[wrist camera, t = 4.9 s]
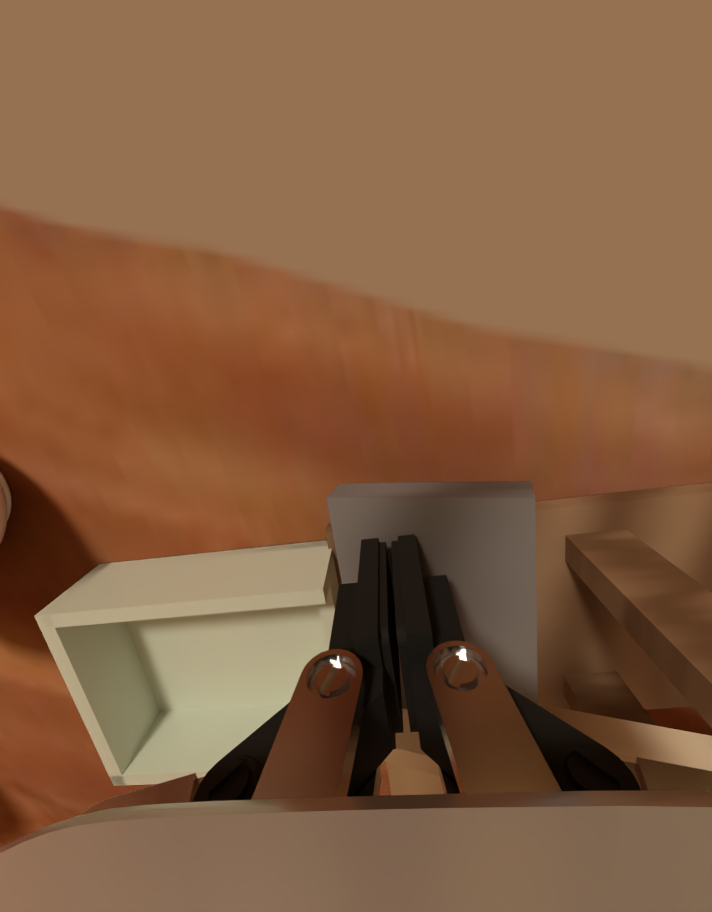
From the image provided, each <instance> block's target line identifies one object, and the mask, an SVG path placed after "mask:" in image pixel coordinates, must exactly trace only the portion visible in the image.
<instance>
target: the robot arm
mask: <svg viewBox="0 0 712 912" xmlns="http://www.w3.org/2000/svg"><path fill="white" fill-rule="evenodd" d="M391 547H392V565H393V583H394V595H393V588H392V581H391V574H390V567H389V560H388V553H387V546H386V542H379V538H372V539H362V540H361V548H360V559H359V570H358V582H357V583H347V584H340V585H339V588H338V594H337V600H336V606H335V613H334V619H333V625H332V631H331V637H330V644H329V650H327V651H324V652H321V653H319V654H318V655H316V656H315V657H313V658H312V659H311V660H310V661H309V662H308V663H307V664H306V665H305V667H304V669H303V671H302V672H301V675H300V677H299V680H298V682H297V685H296V688H295V690H294V693H293V695H292V698H291V700H290V702H289V703H288V704H287V705H285V706H284V707H283V708H282V709H281V710H279V711H278V712H277V713H276V714H275V715H273V716H272V717H271V718H270V719H269V720H267V721H266V722H265V723H264V724H263V725H261V726H260V727H259V728H258V729H257V730H255V731H254V732H253V733H252V734H251V735H249V736H248V737H247V738H246V739H245V740H243V741H242V742H241V743H240V744H239V745H237V746H236V747H235V748H234V749H233V750H231V751H230V752H229V753H228V754H227V755H225V756H224V757H223V758H222V759H221V760H219V761H218V762H217V763H216V764H215V765H214V766H213V767H212V768H211V769H210V770H209V771H208V772H207V774H206V775H205V776H204V777H201V778H197V775H196V773H193V774H190V775H187V776H183V777H180V778H177V779H173V780H170V781H166V782H163V783H160V784H156V785H153V786H150V787H146V788H143V789H139V790H136V791H133V792H129V793H126V794H123V795H119V796H116V797H112V798H109V799H106V800H104V801H101V802H99V803H97V804H95V805H93V806H91V807H90V808H89V809H88V810H86V811H85V812H84V813H83V814H81V815H79V816H75V817H72V818H69V819H66V820H63V821H60V822H57V823H54V824H51V825H47V826H45V827H43V828H40V829H38V830H36V831H34V832H32V833H29V834H27V835H25V836H23V837H21V838H18V839H16V840H14V841H12V842H10V843H8V844H6V845H4V846H3V847H1V848H0V912H712V771H708V770H703V769H698V768H692V767H687V766H682V765H676V764H671V763H666V762H661V761H655V760H650V759H645V758H639V757H636V763H631V762H626V761H622V760H621V759H620V758H619V757H618V756H617V755H615V754H614V753H613V752H611V751H610V750H609V749H607V748H606V747H605V746H603V745H601V744H600V743H598V742H597V741H595V740H593V739H592V738H590V737H589V736H587V735H585V734H584V733H582V732H581V731H579V730H577V729H576V728H574V727H572V726H571V725H569V724H568V723H566V722H564V721H563V720H561V719H560V718H558V717H556V716H555V715H553V714H552V713H550V712H548V711H547V710H545V709H544V708H542V707H540V706H539V705H537V704H536V703H534V702H532V701H531V700H529V699H528V698H526V697H524V696H523V695H521V694H519V693H518V692H516V691H515V690H513V689H511V688H510V687H508V686H507V685H505V684H504V682H503V680H502V678H501V676H500V674H499V672H498V671H497V669H496V667H495V665H494V663H493V661H492V660H491V658H490V657H489V656H488V654H487V653H486V652H485V651H483V650H482V649H481V648H480V647H478V646H476V645H474V644H471V643H469V642H465V639H464V636H463V632H462V628H461V625H460V621H459V618H458V614H457V610H456V607H455V603H454V600H453V596H452V592H451V589H450V585H449V582H448V578H447V576H446V575H437V576H426V577H422V573H421V567H420V562H419V556H418V550H417V545H416V539H415V534H412V535H402V536H398V541H391ZM394 600H395V602H394ZM399 656H400V663H401V670H402V677H403V683H404V690H405V697H406V704H407V711H408V718H409V725H410V731H411V732H418V733H419V740H420V747H421V750H422V751H423V752H424V753H425V754H426V755H427V756H429V757H430V758H431V759H432V760H433V761H434V762H435V763H436V764H437V765H438V768H439V776H440V779H441V783H442V787H443V790H444V794H425V795H388V796H379V791H380V783H381V763H382V762H383V761H384V760H385V759H386V758H387V756H388V755H389V754H390V753H391V752H392V751H393V749H396V734H395V733H403V713H402V696H401V680H400V663H399Z"/></svg>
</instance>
